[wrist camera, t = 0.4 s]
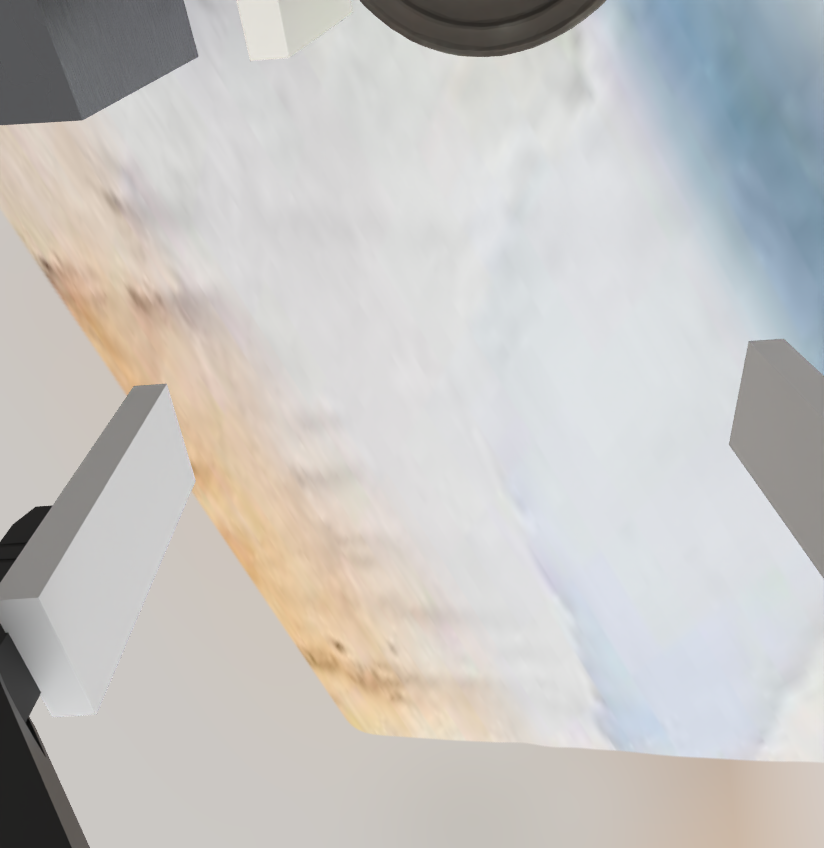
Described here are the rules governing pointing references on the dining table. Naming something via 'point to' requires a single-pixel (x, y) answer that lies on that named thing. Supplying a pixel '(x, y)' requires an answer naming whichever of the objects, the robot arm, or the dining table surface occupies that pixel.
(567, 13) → the coffee can
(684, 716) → the dining table surface
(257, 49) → the pressure pad
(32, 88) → the frame
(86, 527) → the robot arm
